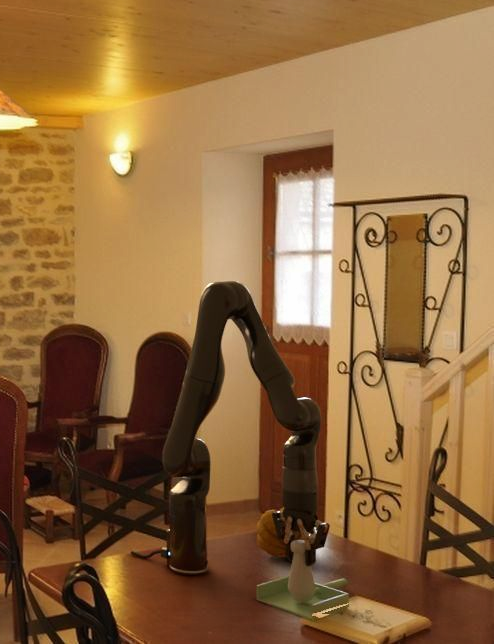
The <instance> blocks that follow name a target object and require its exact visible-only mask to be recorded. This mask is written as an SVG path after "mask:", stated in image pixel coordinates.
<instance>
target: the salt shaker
mask: <svg viewBox="0 0 494 644" xmlns="http://www.w3.org/2000/svg"><path fill="white" fill-rule="evenodd" d="M306 549H307V548H306V545H305V541H303V540H294V541H293V542H291V551H292V552H294V555H293V561H292V560H291V567H290V572H289V576H290V577H289V582H288V590H289V592H290V594H291V596H292V599H294V600H296V601H299V602H309V601H311V600H312V598H313V596H314V593H315V590H316V589H315V584H314V583H315V580H314V575H313V571H312V570H313V569H312V566H310V567H309V566H306V556H305V550H306Z"/></svg>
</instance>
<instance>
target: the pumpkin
mask: <svg viewBox="0 0 494 644" xmlns="http://www.w3.org/2000/svg"><path fill="white" fill-rule="evenodd" d="M283 509H284V507H283V506H282V508H280V509H279V510H277V509H269V510H266V511H265V512H264V513H263V514H262V515H261V516H260V519H259V520H258V522H257V524H256V531H257V536H256V544H257V546H258V547H259V548H260V549H261V550H262V551H264V552H265V553H266V554H267V555H269V556H271V557H275V558H287V557H286V555H285V542H284V541H283V540H282V539H279V538H278V537H277V533H276V529H275V525H274V521H273V517H272V513H274V512H278V511H282V512H283ZM285 523H286V525H287V522H286V520H285ZM281 531H282V530H281ZM307 534H308V535H309V533H307ZM295 540H303V539H302V535H301V533H299V532H298V533H297V535H296V539H295ZM303 541H304V540H303ZM292 561H293V560H291V562H292Z"/></svg>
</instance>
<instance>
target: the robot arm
mask: <svg viewBox="0 0 494 644" xmlns="http://www.w3.org/2000/svg"><path fill="white" fill-rule="evenodd" d="M203 289H204V290H203V291H202V292H201V295H200V299H199V303H198V304H199V305H198V311H197V319H196V325H195V326H196V327H195V332H194V336H193V337H194V338H193V341H192V346H191V351H190V355H189V359H188V363H187V366H186V371H185V373H184V377H183V382H182V387H181V391H180V395H179V398H178V402H177V406H176V410H175V414H174V417H173V420H172V423H171V426H170V429H169V431H168V433H167V437H166V440H165V443H164V445H163V448H162V453H161V462H162V467H163V469H164V471H165V473H166V474H167V475H169V476H170V477H171V478H178V481H177V482H176V484H175V485H174V486H173V487H172V488H170V490H169V492H168V516H169V517H168V520H169V521H168V522H169V523H168V524H169V525H168V529H166V546H164V547H160V549H156V550H153V551H151V552H150V553H149V554H141V553H139V552H136V551H133V550H131V552H130V554H131V555H133V556H135V557H138V558H139V559H140V558H141V559H150V558H151V557H153V556H155V555H157V554H160V558H163V559H165V560H166V567H167V568H169V570H170V571H171V572H173V573H175V574H179V575H183V576H201V575H204V574H207V573H208V571H209V569H208V568H209V561H208V514H207V511H208V510H207V503H208V502H207V497H208V495H209V492H210V488H211V466H212V465H211V464H212V463H211V454H210V451H209V448H208V446H207V444H206V443H205V441H204V440H202V439H200V438H197V434H198V432H199V430H200V428H201V426H202V424H203V422H205V420H206V419H207V417H208V416H209V415H210V413H211V412H212V411H213V409H214V407H215V406H216V405H217V403H218V401H219V399H220V396H221V393H222V390H223V385H224V381H225V376H226V365H225V358H224V354H223V348H222V343H223V342H222V341H223V336H224V332H225V329H226V327H227V323H228V320H231V321H232V322H233V323H234V325H236V327H237V328H238V330H239V331H240V333H241V335H242V337H243V339H244V343H245V347H246V351H247V358H248V360H249V365H250V367H251V369H252V372H253V373H254V375H255V376H256V378H257V379H258V382H259V383H260V384H261V386H262V388H263V389H264V391H265V392H266V395H267V398H268V402H269V404H270V407H271V410H272V413H273V415H274V417H275V418H274V419H275V420H276V421H277V423H278V424H279V425H280V426H281V427H282V428H283V429H285V430H286V431H288V432H290V437H289V438H288V439H287V440H286V441H285V442H284V443H283V447H282V474H281V498H282V499H281V502H282V505H281V506H282V508H283V507H284V509H283V512H282V511H279V510H277V511H278V512H274V513H272V517H273V521H274V525H275V529H276V533H277V537H278V538H279V539H282V540H283V541H284V542H285V555H286V557H285V558H286V560H287V561H289V562H290V561H291V562H292V560H293V555H294V552H292V551H291V542H293V541H294V540H295V539H296V535H297V533H298V532H299V533H301V535H302V539H303V540H304V541H305V545H306V548H307V549H306V550H305V556H306V566H309V567H310V566H311V567H313V566H314V565H315V564H316V562H317V550H318V549H321V548H322V549H323V548H324V547H325V545H326V541H327V538H328V535H329V531H330V528H331V525H330V523H328V522H323V521H321V520H320V519H319V516H318V514H317V512H318V508H319V484H318V483H319V482H318V481H319V479H318V472H317V445H318V443H319V438H320V433H321V428H322V412H321V409H320V407H319V404H318V403H317V402H316V401H314V399H312V398H309V397H300V398H297V396H296V393H295V392H294V389H293V388H294V387H295V385H296V379H295V377H294V375H293V373H292V372H291V370H290V368H289V367H288V366H287V363H286V362H285V361H284V359H283V358H282V356H281V355H280V353H279V351H278V349H277V348H276V346H275V345H274V343H273V341H272V339H271V336H270V335H269V333H268V330H267V328H266V326H265V324H264V322H263V319H262V317H261V314H260V312H259V311H258V308H257V306H256V304H255V303H256V302H255V301H254V298H253V297H252V294H251V293H250V291H249V289H248V288H247V286H245V284H243V283H242V282H240V281H235V280H227V281H213V282H211V283H209V284H208V285H206V287H205V288H203ZM285 520H286V522H287V525H286V523H285ZM281 530H282V531H281ZM307 533H309V535H308V534H307Z"/></svg>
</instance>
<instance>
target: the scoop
mask: <svg viewBox="0 0 494 644" xmlns="http://www.w3.org/2000/svg"><path fill="white" fill-rule="evenodd" d="M289 577H290V575H287V576H284V577H280V578H276V579H273V580H270V581H266V582H262V583H260V584H257V585H256V601H258V602H261V603H264V604H267V605H269V606H272V607H275V608H277V609H280V610H283V611H286V612H289V613H291V614H294V615H296V616H300V617H302V618H305V619H308V620H310V621H312V622H314V621H318V620H320V619H321V618H318V617H316V616H312V614H313V613H317V612H321V611H323V610H326V609H329V608H333V607H336V606H339V605H343V604H347V603H349V604H348V605H346V606H343V607H340V608H337V609H334V610H331V611H328V612H325V613H322V614H332V615H335V614H337V613H341V612H344V611H346V610H348V609H349V607H350V593H348V592H345V591H342V590H341V589H345V588H346V587H348V586H349V582H348V579H346V578H339V579H335V580H333V581H329V582H326V583H323V584H320V583H317V582H314V584H315V589H316V590H315V593H314V596H313V598H312V600H311V601H309V602H299V601H296V600H294V599H292V596H291V594H290V592H289V590H288V582H289Z"/></svg>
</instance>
